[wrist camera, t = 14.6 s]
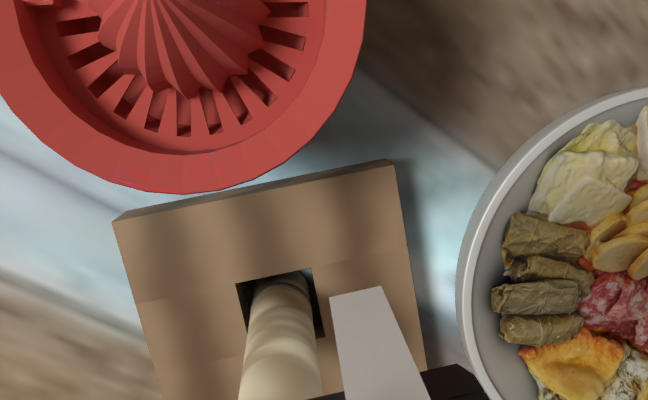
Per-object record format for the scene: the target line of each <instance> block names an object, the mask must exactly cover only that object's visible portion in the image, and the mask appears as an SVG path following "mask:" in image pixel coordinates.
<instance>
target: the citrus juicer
mask: <svg viewBox="0 0 648 400" xmlns="http://www.w3.org/2000/svg"><path fill="white" fill-rule="evenodd" d="M366 12H367V0H0V94H1V96H2V97H3V99H4V100H5V101H6V103H7V104H8V106H9V107H10V109H11V110H12V112H13V113H14V114H15V115H16V116H17V117H18V118H19V119H20V120H21V121H22V122H23V123H24V124H25V125H26V126H27V127H28V128H29V129H30V130H31V131H32V132H33V133H34V134H35V135H36V136H37V137H38V138H39V139H40V140H41V142H43V143H44V144H45V145H47V146H48V147H50V148H51V149H52V150H54V151H55V152H57V153H58V154H59V155H61V156H62V157H64V158H65V159H66V160H68V161H69V162H71V163H72V164H73V165H75V166H77V167H79V168H81V169H83V170H85V171H87V172H90V173H92V174H94V175H96V176H98V177H100V178H102V179H104V180H106V181H109V182H111V183H115V184H119V185H122V186H126V187H130V188H134V189H137V190H141V191H145V192H154V193H167V194H180V195H186V194H195V193H204V192H212V191H220V190H223V189H226V188H230V187H233V186H236V185H239V184H242V183H245V182H249V181H252V180H254V179H256V178H258V177H260V176H262V175H263V174H265V173H267V172H269V171H271V170H273V169H274V168H276V167H278V166H280V165H282V164H284V163H285V162H286V161H288V160H289V159H290V158H291V157H292V156H294V155H295V154H296V153H297V152H298V151H299V150H301V149H302V148H303V147H304V146H305V145H307V144H308V143H309V142H310V141H311V140H313V138H314V137H315V136H316V135H317V133H318V132H319V131H320V130H321V128H322V127H323V126H324V125H325V123H326V122H327V121H328V120H329V118H330V117H331V116H332V115H333V113H334V112H335V111H336V109H337V107H338V105H339V103H340V101H341V99H342V97H343V95H344V93H345V92H346V90H347V88H348V86H349V84H350V82H351V80H352V78H353V75H354V71H355V68H356V65H357V61H358V58H359V55H360V51H361V48H362V45H363V40H364V31H365V21H366Z"/></svg>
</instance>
